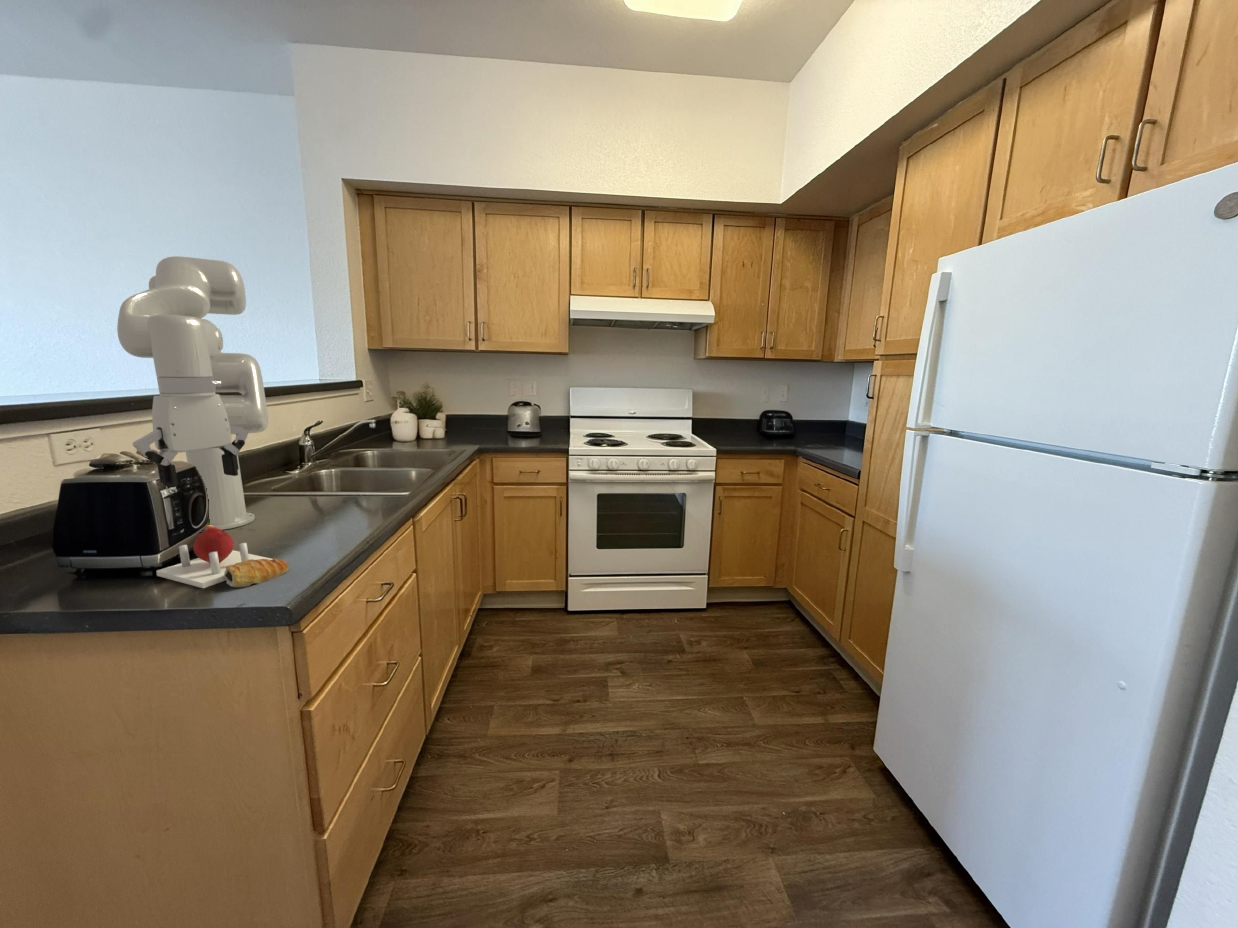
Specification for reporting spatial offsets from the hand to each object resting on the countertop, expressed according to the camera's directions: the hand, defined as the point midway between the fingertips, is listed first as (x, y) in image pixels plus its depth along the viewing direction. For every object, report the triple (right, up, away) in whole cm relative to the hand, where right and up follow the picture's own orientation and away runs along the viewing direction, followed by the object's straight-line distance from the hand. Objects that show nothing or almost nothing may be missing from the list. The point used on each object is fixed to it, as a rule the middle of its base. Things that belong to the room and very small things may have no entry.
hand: (202, 480), depth 90 cm
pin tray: (0, -17, +3) cm, 18 cm away
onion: (0, -16, +3) cm, 17 cm away
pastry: (+10, -19, -1) cm, 21 cm away
